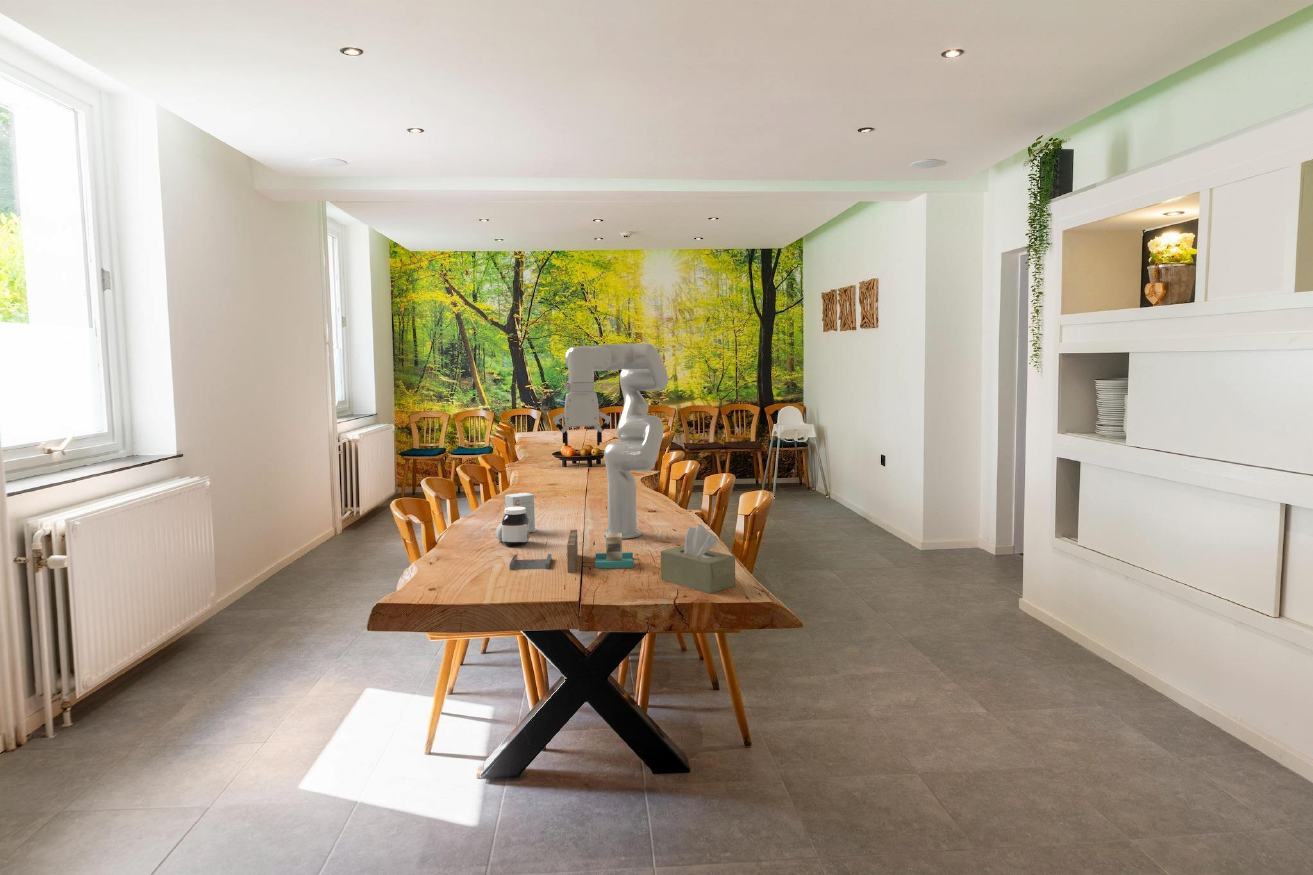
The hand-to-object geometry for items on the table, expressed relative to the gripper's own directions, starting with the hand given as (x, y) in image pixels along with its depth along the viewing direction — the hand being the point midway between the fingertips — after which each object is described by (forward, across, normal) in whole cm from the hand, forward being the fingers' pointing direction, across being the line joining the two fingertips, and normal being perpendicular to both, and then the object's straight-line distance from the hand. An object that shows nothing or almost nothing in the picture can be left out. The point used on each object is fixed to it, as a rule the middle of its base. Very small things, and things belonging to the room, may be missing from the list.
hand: (582, 445), depth 245 cm
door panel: (+33, -3, -12) cm, 36 cm away
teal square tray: (+33, +9, -12) cm, 37 cm away
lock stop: (+33, +9, -12) cm, 36 cm away
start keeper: (+33, -15, -12) cm, 38 cm away
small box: (+34, -23, +34) cm, 53 cm away
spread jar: (+34, -24, +17) cm, 45 cm away
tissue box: (+34, +31, -34) cm, 57 cm away
